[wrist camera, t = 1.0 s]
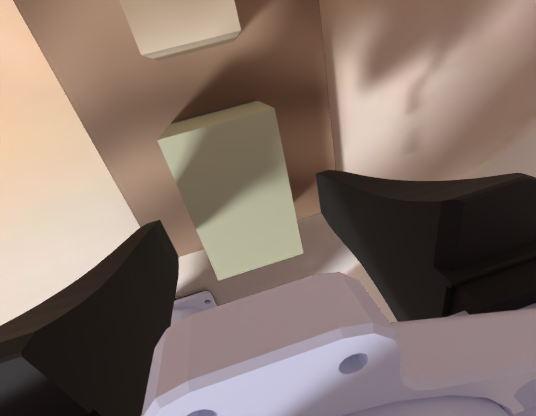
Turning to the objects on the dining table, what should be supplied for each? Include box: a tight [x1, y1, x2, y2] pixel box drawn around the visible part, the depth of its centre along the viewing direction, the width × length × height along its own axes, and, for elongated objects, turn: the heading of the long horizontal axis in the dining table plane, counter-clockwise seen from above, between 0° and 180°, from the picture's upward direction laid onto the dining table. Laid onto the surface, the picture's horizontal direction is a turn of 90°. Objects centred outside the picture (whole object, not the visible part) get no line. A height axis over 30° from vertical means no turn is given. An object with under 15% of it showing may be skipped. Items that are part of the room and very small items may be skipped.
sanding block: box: [157, 99, 303, 281], centre depth 15 cm, size 8×5×5 cm, turn 13°
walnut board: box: [13, 0, 336, 257], centre depth 16 cm, size 18×14×2 cm
